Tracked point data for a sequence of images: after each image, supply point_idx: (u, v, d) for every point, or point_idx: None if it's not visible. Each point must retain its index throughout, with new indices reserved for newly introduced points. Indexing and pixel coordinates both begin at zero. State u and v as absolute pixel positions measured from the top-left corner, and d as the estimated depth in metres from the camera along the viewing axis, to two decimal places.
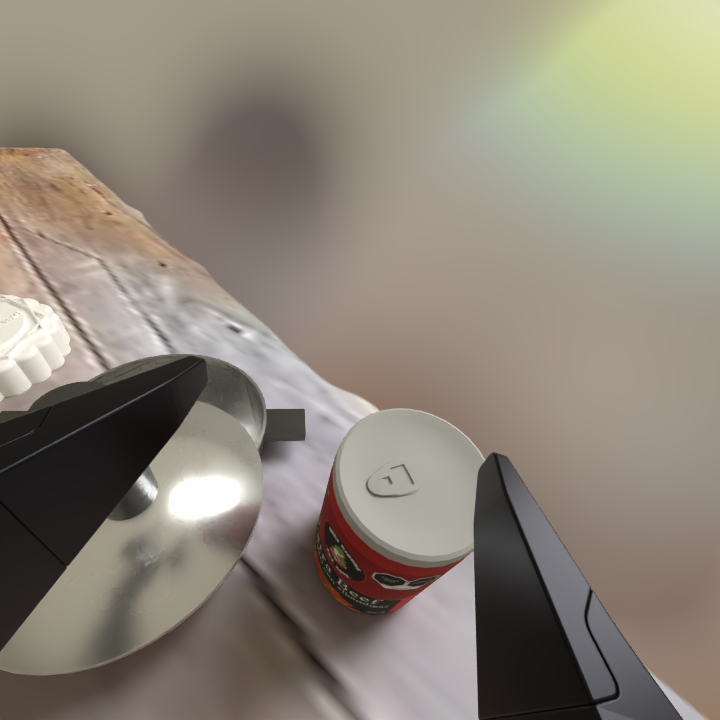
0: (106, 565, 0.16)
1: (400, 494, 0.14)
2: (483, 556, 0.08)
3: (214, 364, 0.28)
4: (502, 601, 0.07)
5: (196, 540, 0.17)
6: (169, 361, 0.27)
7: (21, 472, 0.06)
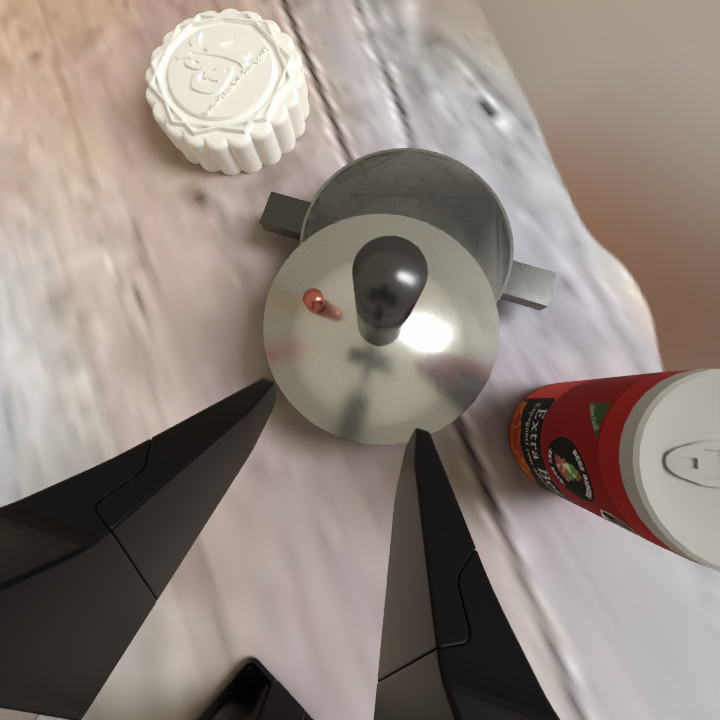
0: (364, 378, 0.19)
1: (701, 482, 0.12)
2: (396, 526, 0.08)
3: (465, 177, 0.22)
4: (401, 566, 0.07)
5: (430, 386, 0.19)
6: (416, 160, 0.22)
7: (136, 513, 0.06)
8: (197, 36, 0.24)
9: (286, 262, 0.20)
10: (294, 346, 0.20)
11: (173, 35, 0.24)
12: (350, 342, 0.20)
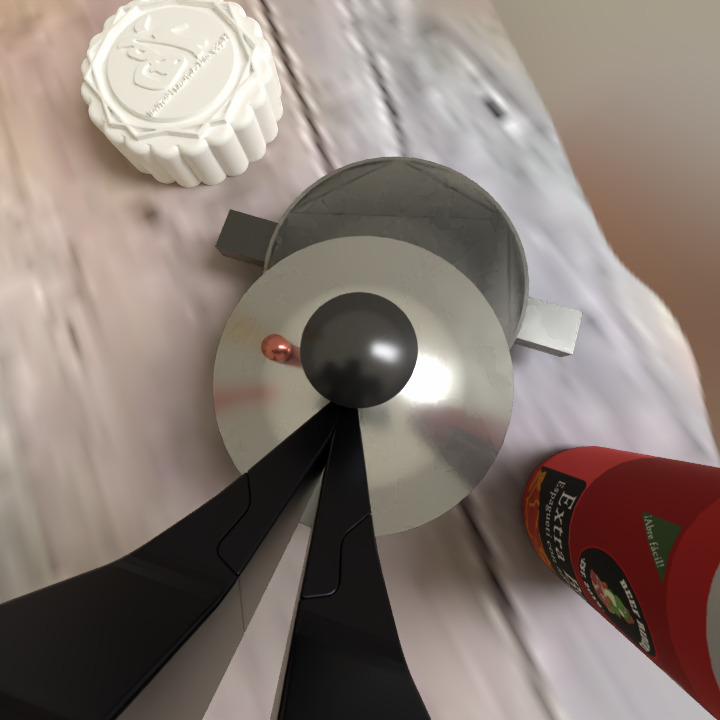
0: None
1: None
2: (317, 499, 0.08)
3: (468, 192, 0.18)
4: (310, 534, 0.07)
5: (425, 459, 0.15)
6: (407, 171, 0.18)
7: (249, 553, 0.05)
8: (143, 20, 0.19)
9: (244, 297, 0.16)
10: (252, 405, 0.15)
11: (115, 19, 0.20)
12: (324, 401, 0.15)
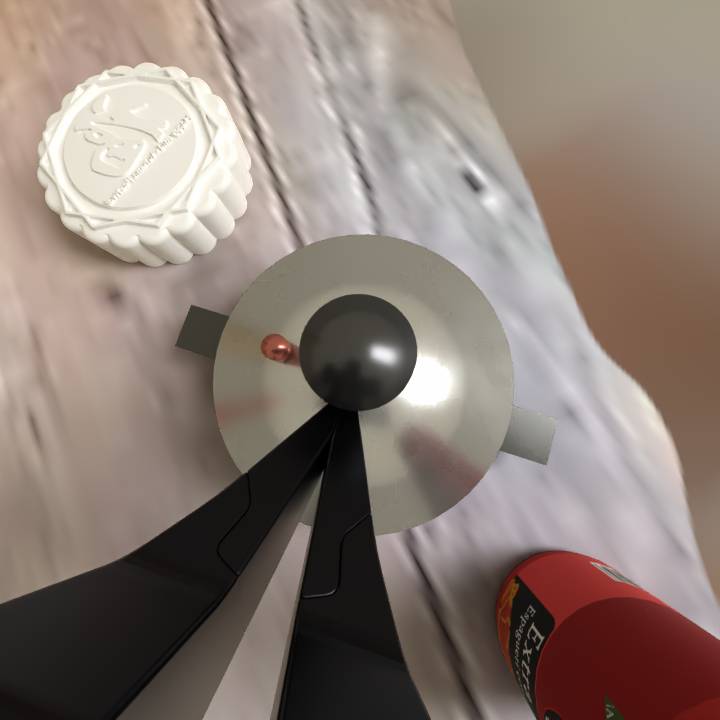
0: None
1: None
2: (317, 499, 0.08)
3: None
4: (310, 534, 0.07)
5: (426, 458, 0.15)
6: None
7: (249, 554, 0.05)
8: (101, 100, 0.19)
9: (244, 296, 0.16)
10: (252, 405, 0.15)
11: (72, 98, 0.19)
12: (324, 400, 0.15)
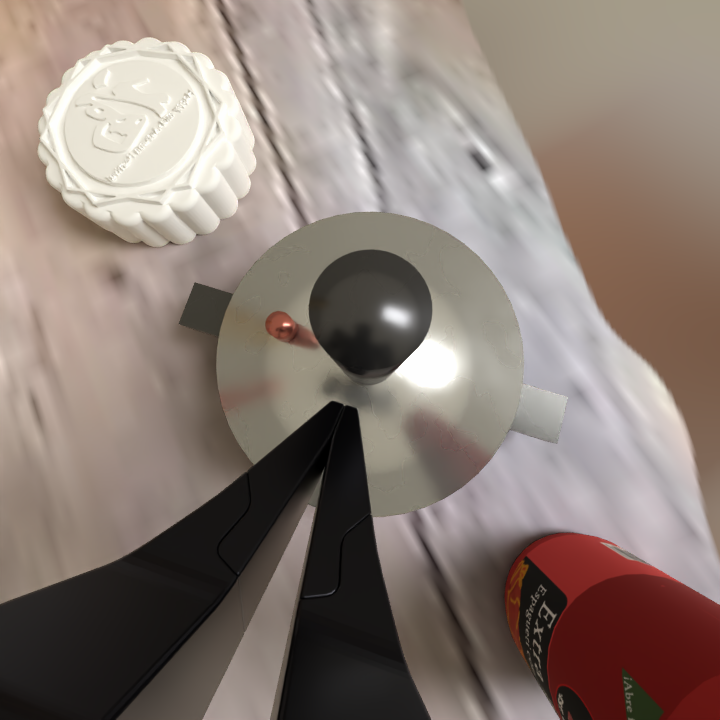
0: None
1: None
2: (317, 499, 0.08)
3: None
4: (310, 534, 0.07)
5: (433, 438, 0.15)
6: None
7: (249, 554, 0.06)
8: (103, 75, 0.18)
9: (247, 275, 0.16)
10: (256, 385, 0.15)
11: (73, 74, 0.18)
12: (329, 380, 0.15)
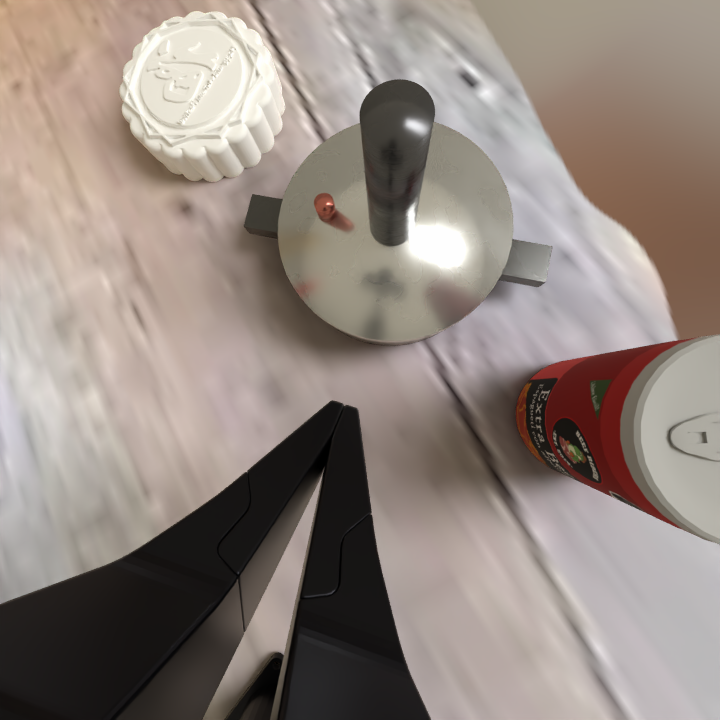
0: (381, 278, 0.20)
1: (711, 457, 0.11)
2: (317, 499, 0.08)
3: None
4: (310, 534, 0.07)
5: (447, 279, 0.19)
6: None
7: (249, 554, 0.05)
8: (165, 45, 0.23)
9: (294, 176, 0.21)
10: (310, 256, 0.20)
11: (141, 47, 0.24)
12: (364, 246, 0.20)
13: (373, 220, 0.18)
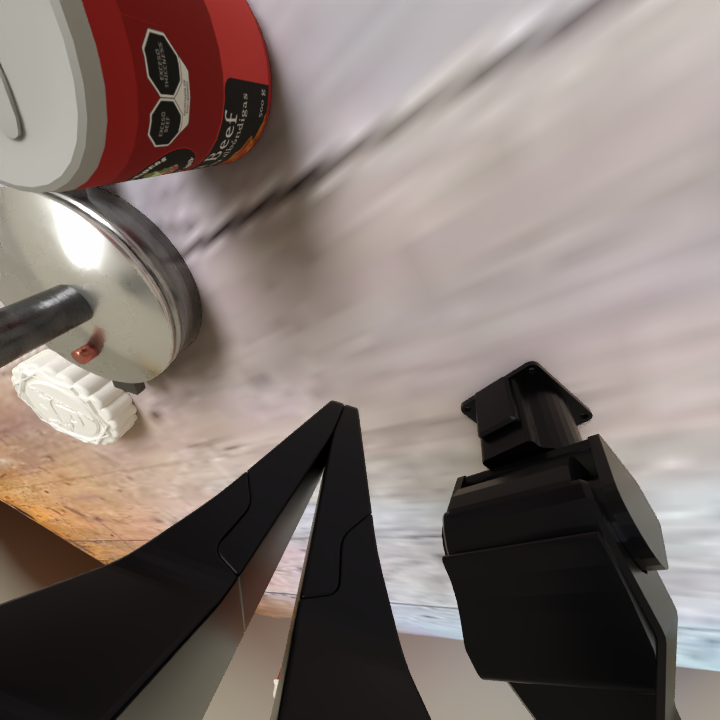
0: (118, 316, 0.22)
1: (3, 76, 0.09)
2: (317, 499, 0.08)
3: None
4: (310, 534, 0.07)
5: (91, 260, 0.20)
6: None
7: (249, 554, 0.05)
8: (53, 421, 0.36)
9: (80, 367, 0.27)
10: (127, 364, 0.25)
11: (63, 431, 0.37)
12: (101, 326, 0.23)
13: (63, 333, 0.21)
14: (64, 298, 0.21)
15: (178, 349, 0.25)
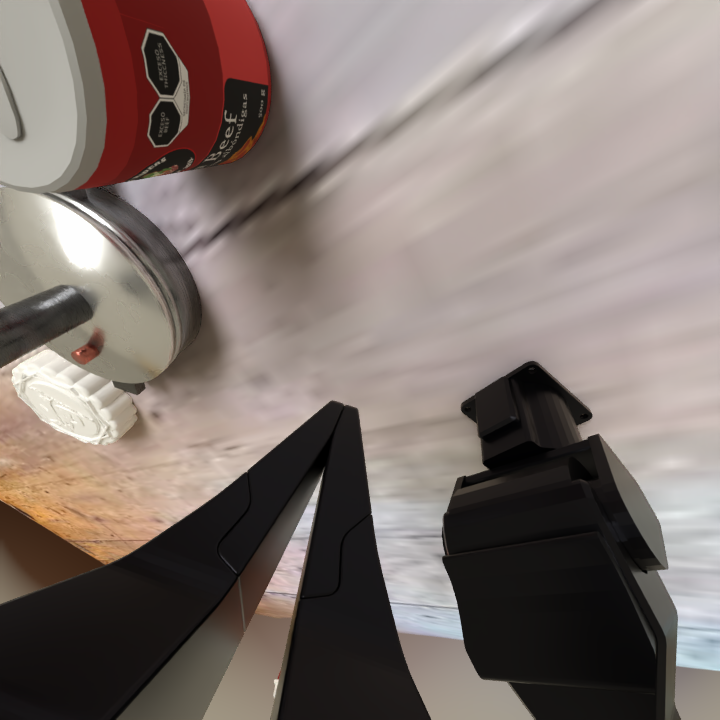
0: (118, 316, 0.22)
1: (3, 77, 0.09)
2: (317, 499, 0.08)
3: None
4: (310, 534, 0.07)
5: (91, 260, 0.20)
6: None
7: (249, 553, 0.05)
8: (53, 421, 0.36)
9: (80, 367, 0.27)
10: (127, 364, 0.25)
11: (63, 432, 0.37)
12: (101, 326, 0.23)
13: (63, 333, 0.21)
14: (64, 298, 0.21)
15: (178, 349, 0.25)
